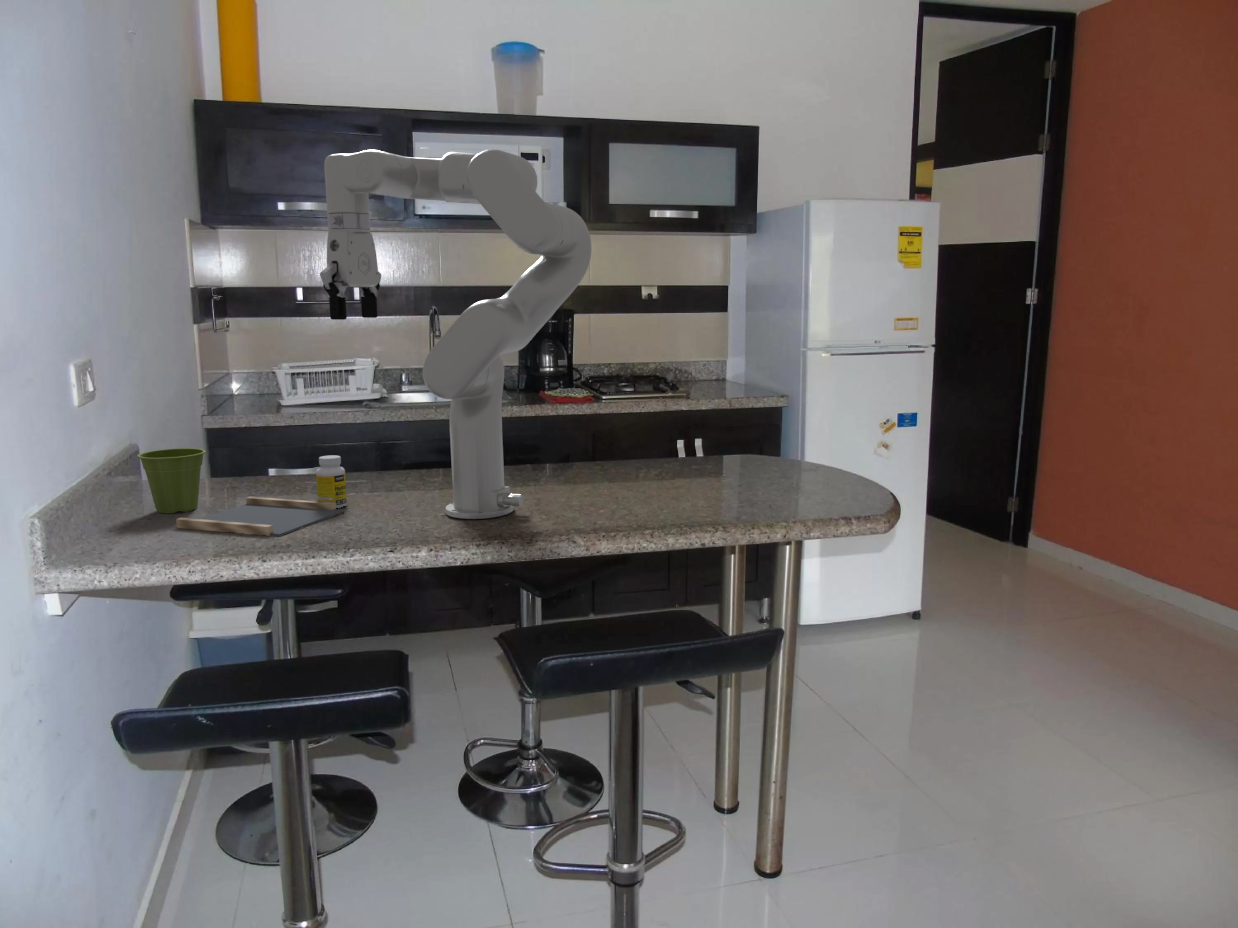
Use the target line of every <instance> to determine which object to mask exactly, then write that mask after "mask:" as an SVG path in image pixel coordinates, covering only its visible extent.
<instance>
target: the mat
mask: <svg viewBox="0 0 1238 928" xmlns="http://www.w3.org/2000/svg"><path fill="white" fill-rule="evenodd" d="M342 512H343V513H345V509H335V510H321V509H308V508H295V507H281V506H268V505H254V504H247V503H246V504H242V505H239V506H235V507H232V508H229V509H226V510H222V511H220V512H219V511H218V512H216V513H213V514H210V515H207V516H204V517H200V518H199V519H204V520H216V521H228V522H240V523H252V524H264V525H273V532H272V533H270V536H272V535H273V537H274V536H275V537H282V536H285V535H287V534H290V533H293V532H294V531H298V530H301V529H303V528H306V527H309V526H311V525H314V524H317V523H318V522H321V520H322V521H324V520H328V519H329V518H332V517H335V516H337V515H336V514H338V513H340V514H343V513H342ZM334 515H335V516H334ZM338 515H339V514H338ZM331 516H332V517H331ZM313 523H314V524H313ZM302 527H303V528H302ZM300 528H301V529H300ZM292 531H293V532H292ZM284 534H285V535H284Z"/></svg>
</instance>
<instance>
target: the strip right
mask: <svg viewBox="0 0 1238 928" xmlns="http://www.w3.org/2000/svg"><path fill="white" fill-rule="evenodd" d="M245 501H246V504H254V505H268V506H281V507H295V508H308V509H321V510H335V509H336V503H333V502H319V501H318V500H304V499H303V500H302V499H301V500H300V499H289V498H287V499H286V498H273V497H259V496H248V497H246V498H245Z"/></svg>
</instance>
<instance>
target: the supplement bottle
mask: <svg viewBox="0 0 1238 928" xmlns="http://www.w3.org/2000/svg"><path fill="white" fill-rule="evenodd" d="M341 459H342V458H341V456H340V455H323V456H322V455H321V456H319V457H318V464H319V466H320V467H319V468H317V469H316V471H315V476H316V477H315V479H316V495H317V496H316V498H317V501H319V502H333V503H336V508H338V509H342V508H344V507H343V506H345V507H346V506H348V505H347V504H348V497H347V481H346V478H347V477H346V469H345V468H344V467H343V466H340V465H341V464H342V460H341ZM341 507H342V508H341Z"/></svg>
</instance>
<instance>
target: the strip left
mask: <svg viewBox="0 0 1238 928" xmlns="http://www.w3.org/2000/svg"><path fill="white" fill-rule="evenodd" d="M175 521H176V528H177V529H185V530H194V531H195V530H196V531H197V530H198V531H207V532H218V533H219V532H220V533H229V532H235V533H234V534H241V533H244V534H245V535H252V534H259V535H258V536H263V535H266V537H269V536H271V535H270V533H272V532H273V525H264V524H252V523H240V522H228V521H216V520H204V519H200V518H192V517H191V518H188V517H179V518H175ZM246 533H247V534H246ZM244 534H243V535H244Z"/></svg>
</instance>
